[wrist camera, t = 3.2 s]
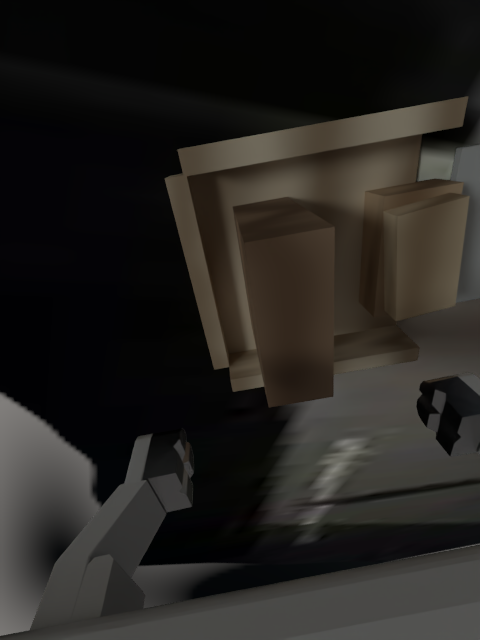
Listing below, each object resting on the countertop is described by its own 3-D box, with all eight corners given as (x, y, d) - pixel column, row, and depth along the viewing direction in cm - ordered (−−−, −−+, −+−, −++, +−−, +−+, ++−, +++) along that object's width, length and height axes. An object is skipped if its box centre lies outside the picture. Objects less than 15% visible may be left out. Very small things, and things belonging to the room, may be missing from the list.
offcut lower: (435, 178, 19) (463, 182, 16) (416, 291, 23) (437, 306, 20) (364, 191, 19) (384, 196, 16) (358, 301, 23) (373, 317, 21)
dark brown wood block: (286, 196, 18) (334, 226, 11) (295, 318, 23) (333, 396, 16) (232, 206, 19) (244, 242, 11) (251, 325, 23) (268, 407, 16)
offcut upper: (449, 192, 17) (469, 195, 15) (439, 296, 20) (455, 306, 19) (383, 211, 17) (397, 216, 16) (384, 310, 20) (396, 321, 19)
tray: (422, 106, 17) (468, 96, 14) (392, 335, 25) (417, 360, 22) (163, 153, 17) (152, 153, 14) (217, 365, 25) (217, 394, 22)
